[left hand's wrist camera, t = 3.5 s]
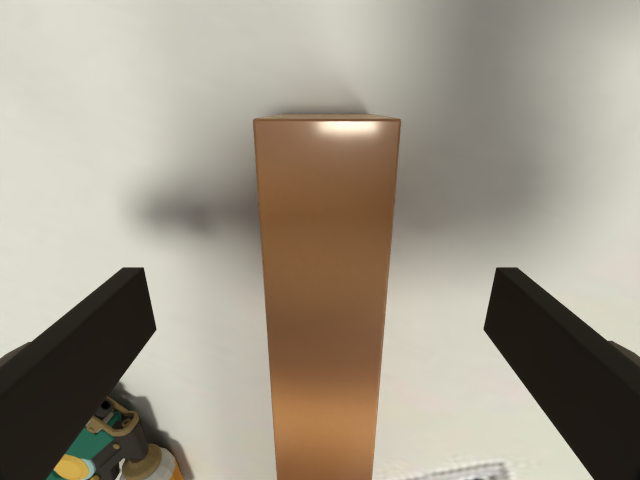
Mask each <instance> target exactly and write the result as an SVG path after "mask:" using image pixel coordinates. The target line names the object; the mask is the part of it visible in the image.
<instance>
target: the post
mask: <svg viewBox="0 0 640 480" xmlns="http://www.w3.org/2000/svg"><path fill="white" fill-rule="evenodd" d="M400 128H401V120H400V119H398V118H391V117H385V116H378V115H372V114H281V115H274V116H268V117H262V118H256V119H254V120H253V129H254V144H255V159H256V173H257V188H258V203H259V218H260V233H261V248H262V263H263V277H264V292H265V307H266V322H267V337H268V352H269V366H270V381H271V396H272V411H273V426H274V441H275V456H276V470H277V480H372V471H373V459H374V447H375V435H376V422H377V410H378V398H379V386H380V373H381V361H382V349H383V337H384V324H385V312H386V300H387V288H388V275H389V263H390V251H391V239H392V226H393V214H394V202H395V190H396V177H397V165H398V153H399V141H400Z"/></svg>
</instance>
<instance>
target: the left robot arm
mask: <svg viewBox="0 0 640 480" xmlns="http://www.w3.org/2000/svg"><path fill="white" fill-rule="evenodd" d="M155 331H156V325H155V320H154V315H153V310H152V305H151V301H150V296H149V291H148V286H147V281H146V277H145V272H144V268H122V269H121V270H119V271H118V272H117V273H116V274H114V275H113V276H112V277H111V278H110V279H108V280H107V281H106V282H105V283H103V284H102V285H101V286H100V287H98V288H97V289H96V290H95V291H93V292H92V293H91V294H90V295H89V296H87V297H86V298H85V299H84V300H82V301H81V302H80V303H79V304H77V305H76V306H75V307H74V308H73V309H71V310H70V311H69V312H68V313H66V314H65V315H64V316H63V317H61V318H60V319H59V320H58V321H57V322H55V323H54V324H53V325H52V326H50V327H49V328H48V329H47V330H45V331H44V332H43V333H42V334H41V335H39V336H38V337H37V338H36V339H34V340H33V341H32V342H28V343H26V344H24V345H22V346H20V347H19V348H17V349H15V350H13V351H11V352H9V353H7V354H6V355H4V356H3V357H2V358H1V359H0V480H46V479H47V477H48V476H49V475H50V473H51V472H52V471H53V469H54V468H55V467H56V465H57V464H58V463H59V461H60V460H61V458H62V457H63V456H64V454H65V453H66V452H67V450H68V449H69V448H70V446H71V445H72V444H73V442H74V441H75V439H76V438H77V437H78V435H79V434H80V433H81V431H82V430H83V429H84V427H85V426H86V425H87V423H88V422H89V420H90V419H91V418H92V416H93V415H94V414H95V412H96V411H97V410H98V408H99V407H100V406H101V404H102V403H103V401H104V400H105V399H106V397H107V396H108V395H109V393H110V392H111V391H112V389H113V388H114V387H115V385H116V384H117V382H118V381H119V380H120V378H121V377H122V376H123V374H124V373H125V372H126V370H127V369H128V368H129V366H130V365H131V363H132V362H133V361H134V359H135V358H136V357H137V355H138V354H139V353H140V351H141V350H142V349H143V347H144V346H145V344H146V343H147V342H148V340H149V339H150V338H151V336H152V335H153V334H154V332H155ZM484 331H485V332H486V334H487V335H488V336H489V338H490V339H491V340H492V342H493V343H494V344H495V346H496V347H497V349H498V350H499V351H500V353H501V354H502V355H503V357H504V358H505V359H506V361H507V362H508V363H509V365H510V366H511V368H512V369H513V370H514V372H515V373H516V374H517V376H518V377H519V378H520V380H521V381H522V382H523V384H524V385H525V387H526V388H527V389H528V391H529V392H530V393H531V395H532V396H533V397H534V399H535V400H536V401H537V403H538V404H539V406H540V407H541V408H542V410H543V411H544V412H545V414H546V415H547V416H548V418H549V419H550V420H551V422H552V423H553V425H554V426H555V427H556V429H557V430H558V431H559V433H560V434H561V435H562V437H563V438H564V439H565V441H566V442H567V444H568V445H569V446H570V448H571V449H572V450H573V452H574V453H575V454H576V456H577V457H578V458H579V460H580V461H581V463H582V464H583V465H584V467H585V468H586V469H587V471H588V472H589V473H590V475H591V476H592V477H593V479H594V480H640V357H639V356H638V355H636V354H635V353H634V352H632V351H630V350H628V349H626V348H624V347H622V346H620V345H619V344H617V343H615V342H613V341H607V340H606V339H604V338H603V337H602V336H601V335H599V334H598V333H597V332H596V331H595V330H593V329H592V328H591V327H590V326H588V325H587V324H586V323H585V322H583V321H582V320H581V319H580V318H579V317H577V316H576V315H575V314H574V313H572V312H571V311H570V310H569V309H567V308H566V307H565V306H564V305H563V304H561V303H560V302H559V301H558V300H556V299H555V298H554V297H553V296H551V295H550V294H549V293H548V292H546V291H545V290H544V289H543V288H542V287H540V286H539V285H538V284H537V283H535V282H534V281H533V280H532V279H530V278H529V277H528V276H527V275H526V274H524V273H523V272H522V271H521V270H519V269H518V268H496V272H495V277H494V281H493V286H492V291H491V296H490V301H489V305H488V310H487V315H486V320H485V325H484Z"/></svg>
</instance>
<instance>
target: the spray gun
mask: <svg viewBox="0 0 640 480" xmlns="http://www.w3.org/2000/svg"><path fill="white" fill-rule="evenodd" d="M115 409H116V410H118V411H116V412H115V413H113V411H114V410H115ZM121 413H122V414H123V415H125V416H128V417H133V419H132V420H130V419H126V420H124V421H123V422H122V421H121ZM123 458H125V462H124V464H123V466H122V475H121V477H120V480H184V478H183V476H182V474H181V471H180V469H179V467H178V464H177V462H176V460H175V457H174V456H173V455H172V454H171V453H170V452H169V451H168V450H167V449H166V448H161V447H159V446H158V445H156V444H147V441H146V438H145V435H144V432H143V429H142V426H141V423H140V421H139V416H138V414H137V412H136V411H128V410H127V409H125V408H124V407H123V406H121V405H120V404H118V403H117V402H116V401H114V400H113V399H111V398H110V397H109V396H107V397H106V399H105V400H104V401H103V403H102V404H101V406H100V407H99V408H98V410H97V411H96V412H95V414H94V415H93V416H92V418H91V419H90V420H89V422H88V423H87V425H86V426H85V427H84V429H83V430H82V431H81V433H80V434H79V435H78V437H77V438H76V439H75V441H74V442H73V444H72V445H71V446H70V448H69V449H68V450H67V452H66V453H65V454H64V456H63V457H62V458H61V460H60V461H59V463H58V464H57V465H56V467H55V468H54V469H53V471H52V472H51V473H50V475H49V476H48V477H47V479H46V480H115V479H116V478H117V476H118V474H119V472H120V471H119V461H121V460H122V459H123Z"/></svg>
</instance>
